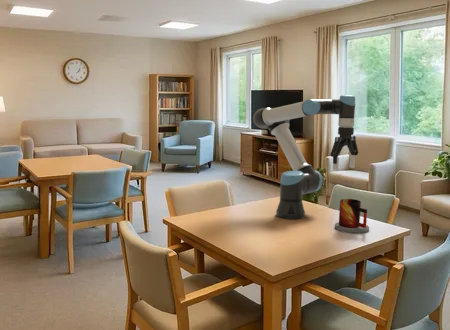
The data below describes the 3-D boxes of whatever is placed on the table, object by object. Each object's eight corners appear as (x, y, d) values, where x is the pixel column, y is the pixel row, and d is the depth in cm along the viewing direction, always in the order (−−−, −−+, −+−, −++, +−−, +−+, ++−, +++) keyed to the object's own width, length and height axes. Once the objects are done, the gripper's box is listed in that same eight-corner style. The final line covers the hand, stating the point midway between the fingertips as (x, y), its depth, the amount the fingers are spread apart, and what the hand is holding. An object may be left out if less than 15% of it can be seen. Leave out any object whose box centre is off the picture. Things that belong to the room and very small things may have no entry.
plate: (327, 227, 218) (328, 224, 218) (347, 222, 229) (347, 219, 228) (356, 235, 206) (356, 232, 206) (375, 229, 216) (375, 226, 216)
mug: (365, 230, 210) (367, 205, 208) (336, 226, 216) (337, 201, 215) (370, 225, 218) (371, 201, 216) (341, 221, 225) (343, 197, 223)
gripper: (336, 128, 214) (334, 172, 217) (367, 126, 229) (364, 167, 233) (324, 127, 219) (322, 170, 222) (354, 125, 235) (352, 165, 238)
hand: (343, 169), depth 228 cm, fingers open, 13 cm apart
